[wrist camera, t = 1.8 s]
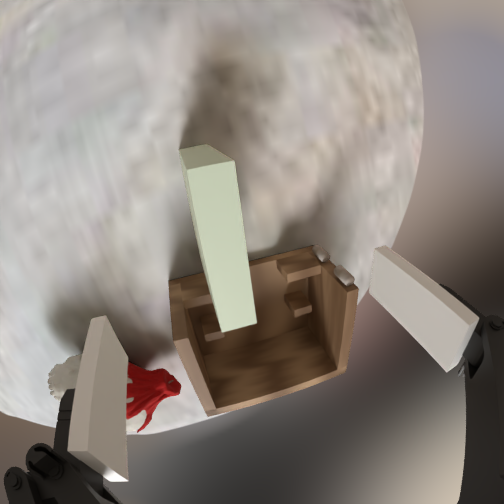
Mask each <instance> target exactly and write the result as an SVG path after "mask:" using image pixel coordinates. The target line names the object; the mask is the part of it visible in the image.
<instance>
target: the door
mask: <svg viewBox="0 0 504 504" xmlns="http://www.w3.org/2000/svg"><path fill="white" fill-rule="evenodd" d="M179 154H180V159H181V165H182V171H183V176H184V181H185V187H186V192H187V197H188V202H189V207H190V212H191V217H192V222H193V226H194V231H195V236H196V240H197V245H198V249H199V254H200V258H201V262H202V266H203V269H204V273H205V277H206V280H207V284H208V287H209V291H210V294H211V298H212V301H213V305H214V308H215V311H216V315H217V318H218V321H219V325H220V328H221V331H222V332H226V331H230V330H234V329H238V328H241V327H245V326H249V325H252V324H256V323H257V320H256V313H255V305H254V298H253V291H252V284H251V277H250V270H249V262H248V255H247V248H246V241H245V234H244V226H243V219H242V212H241V204H240V197H239V190H238V182H237V175H236V167H235V161H234V160H233V159H231V158H230V157H228V156H226V155H225V154H223V153H221V152H220V151H218V150H216V149H215V148H213V147H211V146H210V145H208V144H203V145H198V146H193V147H188V148H183V149H179Z"/></svg>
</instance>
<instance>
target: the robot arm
mask: <svg viewBox="0 0 504 504" xmlns="http://www.w3.org/2000/svg"><path fill="white" fill-rule="evenodd" d="M369 293H370V294H371V295H372V296H373V297H374V298H375V299H376V300H377V301H378V302H379V303H380V304H381V305H382V306H383V307H384V308H385V309H386V310H387V311H388V312H389V313H390V314H391V315H392V316H393V317H394V318H395V319H396V320H397V321H398V322H399V323H400V324H401V325H402V326H403V327H404V328H405V329H406V330H407V331H408V332H409V333H410V334H411V335H412V336H413V337H414V338H415V339H416V340H417V341H418V342H419V343H420V344H421V345H422V346H423V347H424V348H425V350H426V351H427V352H428V353H429V354H430V355H431V356H432V357H433V358H434V359H435V360H436V361H437V362H438V363H439V364H440V366H441V367H442V368H443V369H444V370H445V371H446V372H448V371H449V370H450V369H452V368H453V367H455V366H456V365H457V364H458V362H459V361H460V358H461V357H462V355H463V356H464V357H465V358H466V359H465V361H464V363H463V365H462V366H461V368H460V370H459V372H458V376H460V375H461V373H462V371H463V369H464V374H463V376H465V390H466V445H465V459H464V470H463V478H462V485H461V492H460V497H459V501H458V503H457V504H504V319H502V318H500V317H499V316H495V315H489V316H487V317H485V316H484V315H483V314H482V313H480V312H479V311H478V310H477V309H475V308H474V307H473V306H472V305H470V304H469V303H468V302H467V301H466V300H463V298H462V297H461V296H459V295H457V293H456V292H454V291H453V290H452V289H450V288H449V287H447V286H444V285H442V284H437V283H436V282H435V281H433V280H432V279H431V278H429V277H428V276H427V275H425V274H424V273H423V272H421V271H420V270H419V269H417V268H416V267H414V266H413V265H412V264H411V263H409V262H408V261H406V260H405V259H403V258H402V257H401V256H399V255H398V254H397V253H395V252H394V251H392V250H391V249H390V248H388V247H387V246H382V247H379V248H375V249H374V255H373V265H372V274H371V282H370V290H369ZM127 370H128V356H127V354H126V353H125V351H124V349H123V347H122V345H121V344H120V342H119V340H118V338H117V336H116V334H115V332H114V330H113V328H112V326H111V324H110V322H109V320H108V318H107V316H106V315H105V316H100V317H95V318H91V322H90V326H89V329H88V333H87V337H86V341H85V346H84V350H83V354H82V359H81V363H80V368H79V373H78V378H77V383H76V388H74V389H67V390H66V391H65V393H64V395H63V397H62V398H61V401H60V407H59V413H58V418H57V420H58V422H57V425H56V432H55V439H54V448H53V449H52V448H51V447H50V446H48V445H46V444H44V443H38V444H35V445H33V446H32V447H31V448H30V449H29V451H28V453H27V455H26V466H27V469H28V470H29V471H30V472H25V471H24V470H22V469H21V468H18V467H11V468H10V469H8V470H7V472H6V474H5V477H4V485H5V489H6V493H7V497H8V500H9V504H122V503H121V502H120V501H119V500H118V498H116V497H115V496H114V494H113V493H112V492H111V491H110V490H109V489H108V488H107V487H106V486H105V485H104V484H103V477H105V478H106V479H108V480H109V481H129V479H128V464H127V441H126V395H127Z"/></svg>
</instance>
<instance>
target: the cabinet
mask: <svg viewBox="0 0 504 504" xmlns="http://www.w3.org/2000/svg"><path fill="white" fill-rule="evenodd" d="M329 258H330V255H329V254H328V253H327V252H326V251H325V250H324V249H323V248H322V247H321V246H319V245H313V246H309V247H305V248H301V249H297V250H293V251H289V252H285V253H281V254H277V255H273V256H269V257H265V258H261V259H257V260H253V261H249V270H250V277H251V284H252V291H253V298H254V305H255V313H256V320H257V323H256V324H252V325H249V326H245V327H241V328H238V329H234V330H230V331H226V332H222V331H221V328H220V325H219V321H218V318H217V315H216V311H215V308H214V305H213V301H212V298H211V294H210V291H209V287H208V284H207V280H206V277H205V273H204V272H203V273H199V274H195V275H191V276H187V277H182V278H178V279H174V280H170V281H168V283H169V298H170V311H171V323H172V334H173V342H174V344H175V347H176V349H177V351H178V354H179V356H180V359H181V361H182V363H183V365H184V368H185V370H186V372H187V374H188V377H189V379H190V381H191V383H192V385H193V387H194V390H195V392H196V394H197V396H198V398H199V400H200V402H201V404H202V406H203V408H204V410H205V412H206V414H207V416H208V417H209V416H213V415H217V414H221V413H225V412H229V411H233V410H237V409H241V408H244V407H248V406H252V405H255V404H259V403H262V402H265V401H268V400H272V399H275V398H278V397H281V396H284V395H287V394H290V393H293V392H295V391H299V390H301V389H304V388H307V387H309V386H312V385H315V384H317V383H320V382H323V381H325V380H328V379H330V378H333V377H335V376H338V375H340V374H343V373H344V372H346V368H347V362H348V357H349V352H350V346H351V339H352V334H353V327H354V321H355V313H356V306H357V299H358V290H359V288H358V287H357V286H356V285H355V284H354V283H353V282H354V280H355V279H354V277H353V276H352V275H351V274H350V273H349V272H348V271H347V270H346V269H345V268H344V267H343V266H341V265H338V266H335V265H334V264H333V263H332V262H331V261H330V260H329Z"/></svg>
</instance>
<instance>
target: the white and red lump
mask: <svg viewBox="0 0 504 504" xmlns="http://www.w3.org/2000/svg"><path fill="white" fill-rule="evenodd" d="M81 359H82V354H80V355H75V356H71V357H69V358H68V359H67V360H66V362H65V363H63V364H56V365H55V367H54V368H53V369H52V370H51V372H50V373H49V377H50V378H49V379H48V384H50V385H49V389H50V390H53V391H51V392H50V394H51V395H53V396H54V398H55V399H56V400H58V401H61V398H62V397H63V395H64V393H65V391H66V390H67V389H74V388H76V383H77V378H78V373H79V368H80V363H81ZM180 390H181V384H180V383H179V382H178V381H177V380H176V379H175V377H174V376H173V375H170V374H169V372H168V371H167V370H165V369H163V368H162V369H156V370H153V371H150V370H145V369H142V368H140V367H138V366H136V365H134V364H132V363H130V362H128V370H127V395H126V432H127V431H137V430H138V431H137V433H138V432H139V431H141V430H142V429H144V428H145V427H146V426H147V425H148V424H149V422H150V421H151V419H152V414H153V412H154V410H155V409H156V407H157V405H158V404H159V402H161V401H162V400H163V399H165V398H167V397H170V396H176V395H179V394H180Z"/></svg>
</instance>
